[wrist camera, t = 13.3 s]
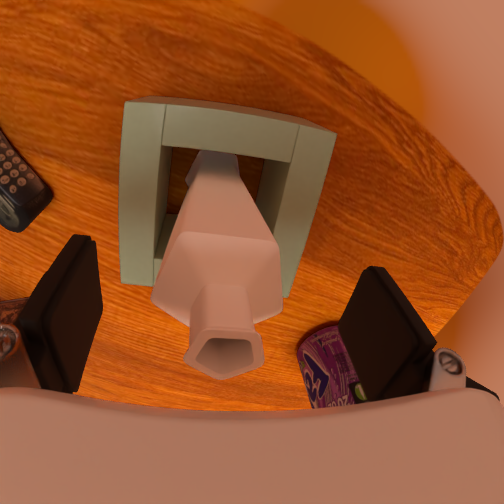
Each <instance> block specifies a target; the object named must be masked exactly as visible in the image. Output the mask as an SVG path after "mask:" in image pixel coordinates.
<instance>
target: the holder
mask: <svg viewBox="0 0 504 504" xmlns="http://www.w3.org/2000/svg"><path fill="white" fill-rule="evenodd" d="M336 137H337V133H335V132H333V131H330V130H328V129H326V128H324V127H322V126H320V125H317V124H315V123H313V122H311V121H308V120H306V119H304V118H300V117H296V116H291V115H287V114H282V113H277V112H272V111H267V110H262V109H257V108H251V107H245V106H239V105H233V104H226V103H219V102H212V101H204V100H195V99H186V98H175V97H163V96H147V97H142V98H138V99H134V100H130V101H126V102H125V105H124V114H123V124H122V135H121V149H120V166H119V200H118V224H119V257H120V275H121V283H124V284H133V285H142V286H151V287H153V286H154V284H155V281H156V278H157V275H158V272H159V269H160V265H161V262H162V259H163V257H164V254H165V251H166V248H167V245H168V242H169V239H170V236H171V233H172V231H173V228H174V225H175V222H176V220H177V217H178V214H168V213H167V214H166V210H167V198H168V187H169V177H170V167H171V158H172V150H173V146H174V147H184V148H193V149H201V150H210V151H217V152H225V153H232V154H239V155H246V156H252V157H258V158H264V159H265V160H264V165H263V169H262V174H261V179H260V183H259V188H258V192H257V197H256V202H255V204H256V206H257V208H258V210H259V212H260V213H261V215H262V217H263V219H264V220H265V222H266V224H267V226H268V228H269V230H270V231H271V233H272V235H273V237H274V239H275V240H276V242H277V244H278V247H279V252H280V267H281V281H282V297H286V298H288V296H289V293H290V290H291V287H292V284H293V281H294V278H295V275H296V272H297V269H298V266H299V262H300V259H301V256H302V253H303V250H304V247H305V244H306V240H307V237H308V234H309V231H310V227H311V224H312V221H313V218H314V214H315V211H316V208H317V204H318V201H319V197H320V194H321V191H322V187H323V184H324V180H325V177H326V173H327V170H328V166H329V162H330V159H331V155H332V152H333V148H334V144H335V140H336Z"/></svg>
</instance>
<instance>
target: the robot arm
mask: <svg viewBox="0 0 504 504" xmlns="http://www.w3.org/2000/svg"><path fill="white" fill-rule="evenodd" d="M102 311H103V301H102V294H101V287H100V279H99V270H98V260H97V249H96V242H95V241H92V240H91V237H90V236H87V235H78V234H74V235H73V236H72V237H71V238H70V240H69V241H68V242H67V244H66V245H65V246H64V248H63V249H62V251H61V252H60V253H59V255H58V256H57V258H56V259H55V261H54V262H53V264H52V265H51V267H50V268H49V270H48V271H46V273H45V274H44V275H43V277H42V278H41V280H40V281H39V283H38V284H37V286H36V287H35V289H34V291H33V292H32V294H31V296H30V297H29V299H28V300H27V302H26V304H25V306H24V307H23V309H22V311H21V312H20V314H19V316H18V318H17V319H16V321H15V323H14V325H13V324H10V323H7V322H0V504H504V407H503V406H502V404H501V403H500V401H499V397H498V396H497V394H496V393H494V392H493V391H491V390H489V389H487V388H486V387H484V386H482V385H480V384H479V383H477V382H475V381H473V380H472V379H470V378H468V377H467V376H466V367H465V364H464V361H463V360H462V358H461V357H460V356H459V355H458V354H457V353H456V352H454V351H453V350H451V349H448V348H439V349H438V350H436V351H435V353H434V352H433V350H432V349H433V348H434V346H435V345H436V343H437V342H436V340H435V338H434V337H433V335H432V334H431V332H430V331H429V329H428V328H427V326H426V325H425V323H424V322H423V320H422V319H421V318H420V316H419V315H418V313H417V312H416V310H415V309H414V307H413V306H412V305H411V303H410V302H409V300H408V299H407V298H406V296H405V295H404V293H403V292H402V291H401V289H400V288H399V287H398V285H397V284H396V283H395V281H394V280H393V279H392V277H391V276H390V275H389V273H388V272H387V271H386V269H385V268H384V267H377V266H369V267H368V268H367V269H365V270H364V271H363V272H362V274H361V276H360V278H359V281H358V283H357V285H356V287H355V289H354V292H353V294H352V296H351V298H350V300H349V302H348V304H347V306H346V309H345V311H344V313H343V315H342V317H341V319H340V321H339V323H338V331H339V334H340V336H341V338H342V341H343V343H344V345H345V348H346V350H347V352H348V355H349V357H350V359H351V362H352V364H353V366H354V369H355V371H356V374H357V376H358V379H359V381H360V383H361V386H362V388H363V391H364V393H365V396H366V398H367V400H368V401H370V402H368V403H361V404H353V405H345V406H336V407H326V408H316V409H303V410H285V411H203V410H186V409H173V408H162V407H152V406H144V405H136V404H129V403H121V402H114V401H108V400H101V399H95V398H90V397H84V396H79V395H74V394H72V393H73V392H77V391H78V389H79V385H80V382H81V378H82V374H83V371H84V368H85V364H86V361H87V357H88V354H89V351H90V348H91V345H92V342H93V339H94V336H95V333H96V330H97V327H98V324H99V321H100V318H101V315H102Z"/></svg>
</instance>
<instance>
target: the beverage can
mask: <svg viewBox="0 0 504 504" xmlns="http://www.w3.org/2000/svg"><path fill="white" fill-rule="evenodd" d="M297 359H298V363H299V366H300V370H301V373H302V376H303V380H304V383H305V386H306V390H307V393H308V396H309V400H310V403H311V407H312V409H316V408H326V407H336V406H345V405H353V404H361V403H368V402H370V401H368V400H367V398H366V396H365V393H364V391H363V388H362V386H361V383H360V381H359V379H358V376H357V374H356V371H355V369H354V366H353V364H352V362H351V359H350V357H349V355H348V352H347V350H346V348H345V345H344V343H343V341H342V338H341V336H340V334H339V331H338V325H337V326H331V327H327V328H324V329H322V330H320V331H318V332H316V333H314V334H312V335H311V336H310V337H308V338H307V339H306V340H305V341H304V342H303V343H302V344H301V346H300V347H299V349H298V352H297Z"/></svg>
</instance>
